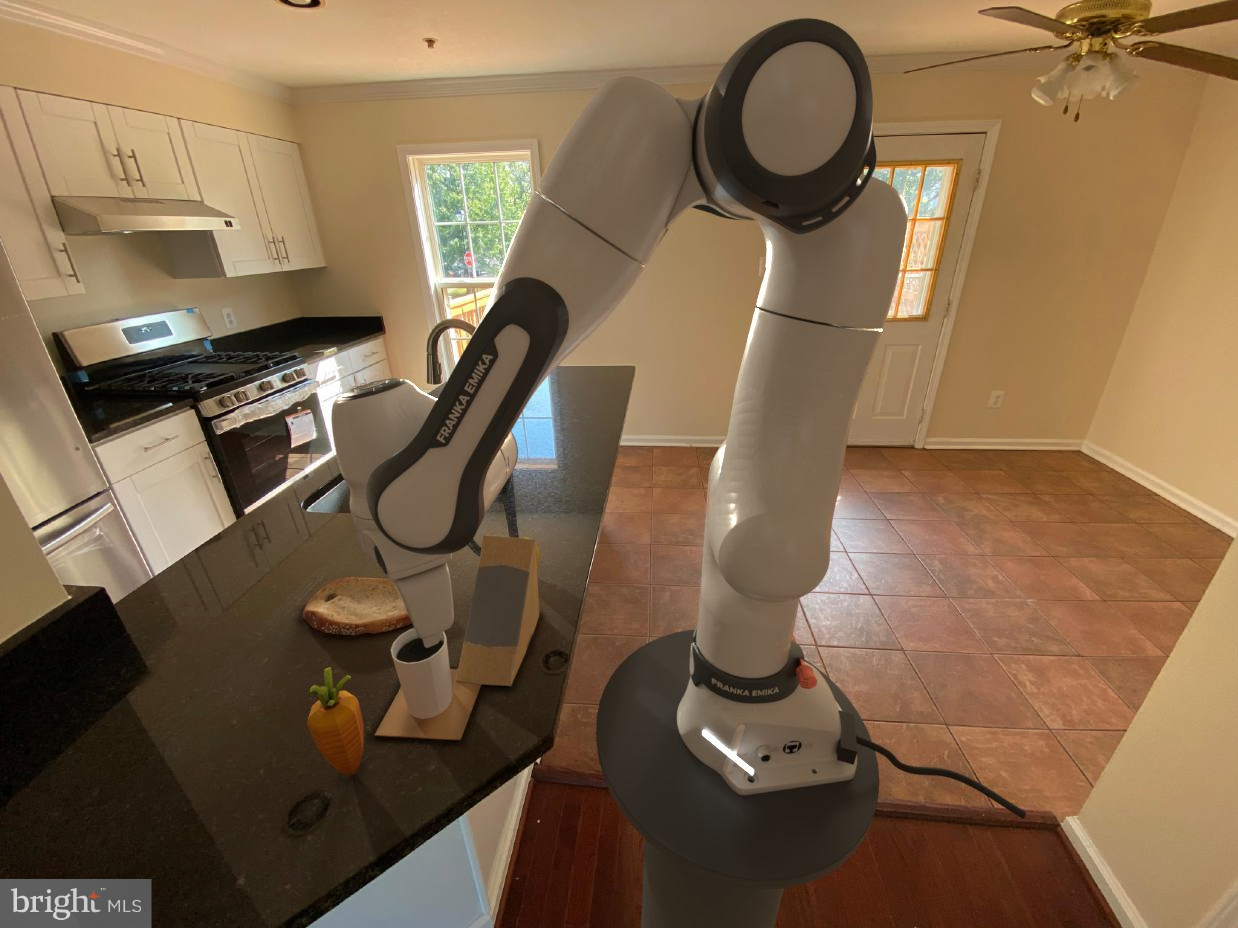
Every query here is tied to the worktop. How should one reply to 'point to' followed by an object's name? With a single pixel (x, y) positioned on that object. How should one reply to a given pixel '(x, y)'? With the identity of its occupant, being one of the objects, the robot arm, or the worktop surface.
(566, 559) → the worktop surface
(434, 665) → the white coffee cup
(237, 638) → the worktop surface
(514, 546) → the sandwich container
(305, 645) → the worktop surface
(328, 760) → the carrot
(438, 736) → the cork coaster
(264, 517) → the worktop surface
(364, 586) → the slice of bread
